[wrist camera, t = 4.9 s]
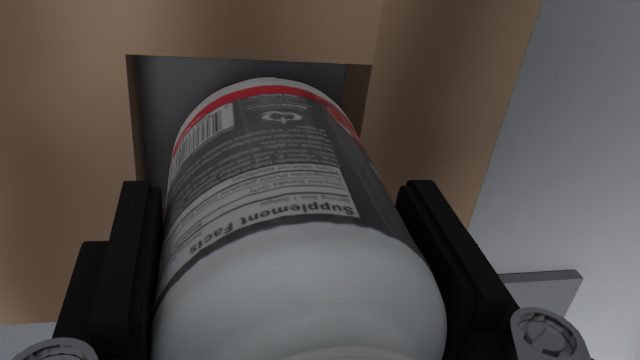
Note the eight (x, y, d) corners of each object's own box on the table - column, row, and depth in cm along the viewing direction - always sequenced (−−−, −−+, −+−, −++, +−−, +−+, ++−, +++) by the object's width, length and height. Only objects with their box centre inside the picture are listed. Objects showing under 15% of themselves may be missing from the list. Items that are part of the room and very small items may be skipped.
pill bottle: (368, 204, 16) (524, 548, 8) (208, 250, 16) (210, 647, 8) (338, 47, 13) (539, 353, 5) (140, 101, 13) (35, 504, 5)
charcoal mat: (575, 270, 25) (583, 278, 24) (508, 407, 31) (513, 416, 30) (363, 282, 22) (366, 292, 22) (332, 429, 28) (334, 440, 28)
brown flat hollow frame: (504, -38, 16) (549, -23, 14) (422, 254, 22) (445, 294, 20) (-76, -96, 12) (-131, -86, 10) (19, 273, 19) (-3, 325, 17)
